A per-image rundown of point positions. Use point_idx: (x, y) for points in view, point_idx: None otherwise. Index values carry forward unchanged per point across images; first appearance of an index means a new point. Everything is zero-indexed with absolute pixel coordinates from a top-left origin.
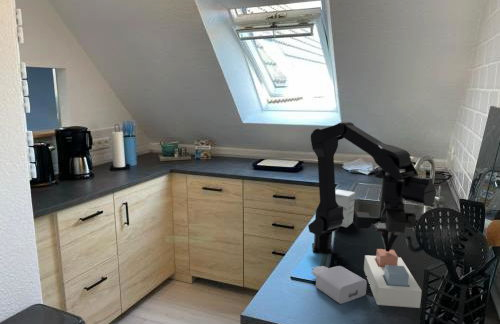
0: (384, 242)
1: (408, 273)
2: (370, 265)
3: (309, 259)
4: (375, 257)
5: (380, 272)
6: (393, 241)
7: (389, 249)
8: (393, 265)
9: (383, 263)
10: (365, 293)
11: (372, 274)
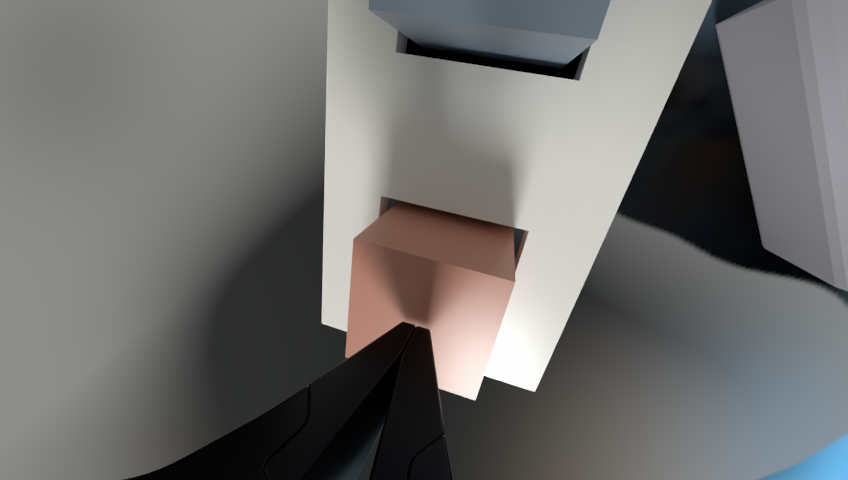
0: (439, 414)
1: (342, 106)
2: (583, 257)
3: (796, 474)
4: None
5: (567, 130)
6: (314, 390)
7: (394, 332)
8: (485, 25)
9: (483, 241)
10: (718, 23)
11: (655, 113)
